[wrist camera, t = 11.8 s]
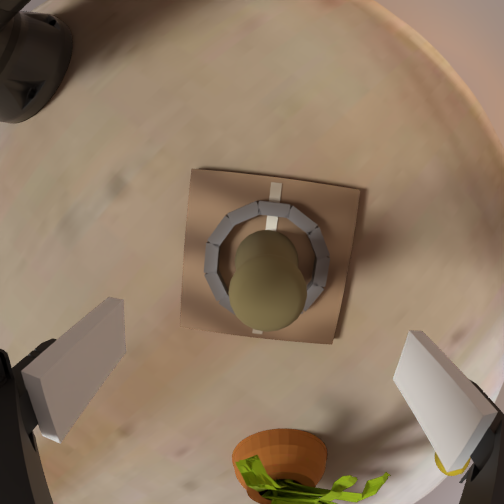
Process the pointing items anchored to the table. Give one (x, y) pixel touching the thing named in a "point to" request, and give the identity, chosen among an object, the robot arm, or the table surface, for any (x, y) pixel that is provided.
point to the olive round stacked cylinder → (267, 282)
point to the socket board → (256, 219)
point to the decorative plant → (291, 469)
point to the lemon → (451, 473)
